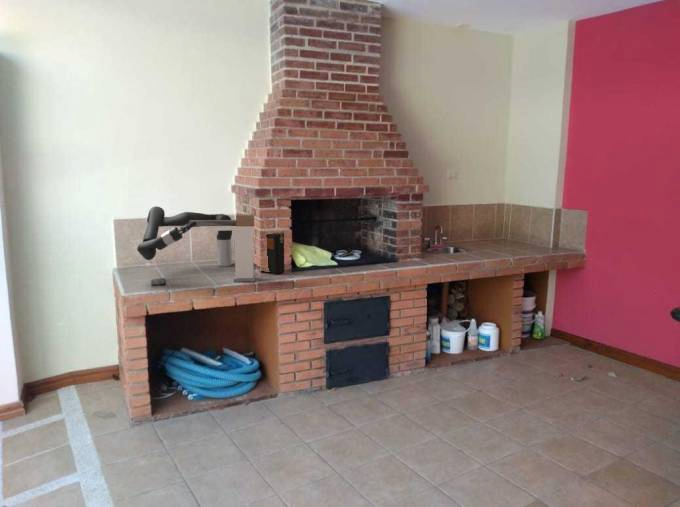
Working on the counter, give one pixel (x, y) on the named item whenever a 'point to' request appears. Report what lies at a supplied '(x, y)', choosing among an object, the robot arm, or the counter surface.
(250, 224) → the carriage
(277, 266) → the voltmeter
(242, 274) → the shelf stand
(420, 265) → the counter surface
